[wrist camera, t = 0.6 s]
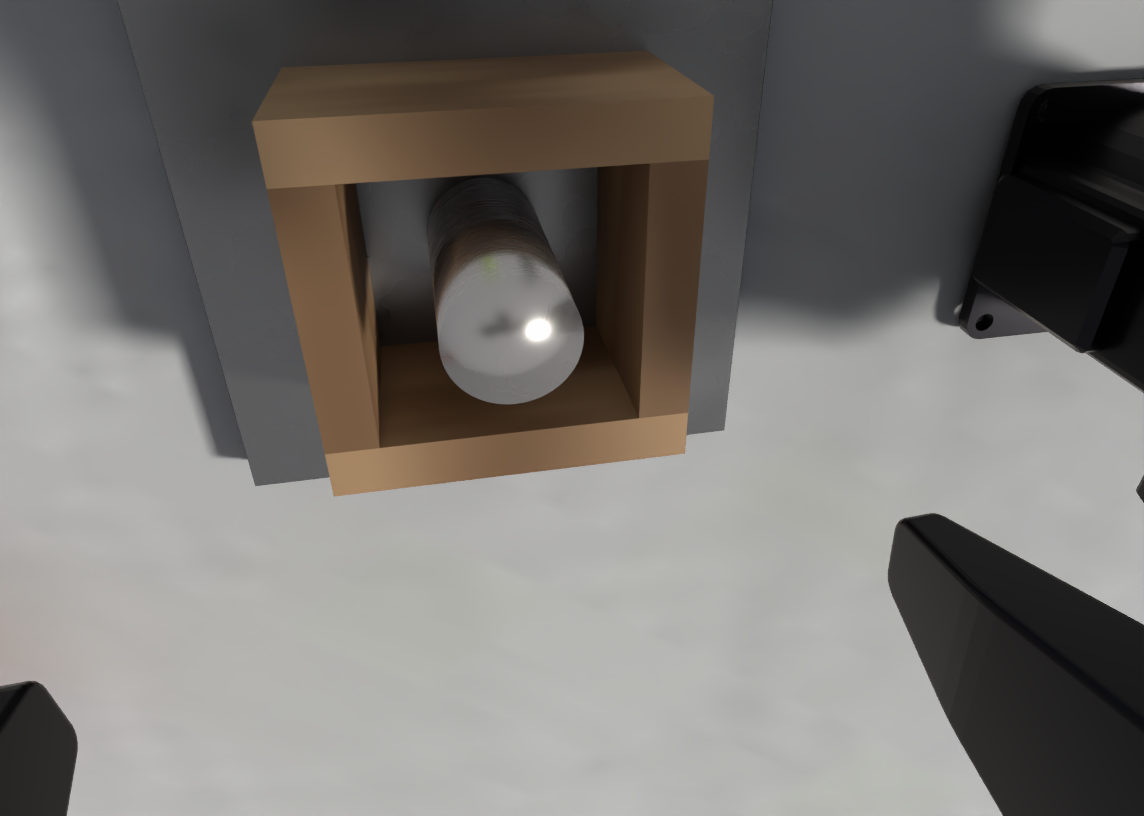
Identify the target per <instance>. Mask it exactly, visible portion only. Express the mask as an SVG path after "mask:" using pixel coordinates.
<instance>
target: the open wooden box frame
mask: <svg viewBox="0 0 1144 816" xmlns="http://www.w3.org/2000/svg"><path fill="white" fill-rule="evenodd" d="M713 104H714V95H712V94H711V93H709V92H708V91H706V90H705V89H703V88H702V87H700V86H699V85H697V84H696V83H695V82H693V81H692V80H690V79H689V78H687V77H686V76H684V75H683V74H681V73H680V72H678V71H677V70H675V69H674V68H673V67H671V66H670V65H668V64H667V63H665V62H664V61H662V60H661V59H659V58H658V57H656V56H655V55H653V54H652V53H650V52H649V51H631V52H609V53H587V54H565V55H543V56H521V57H499V58H477V59H455V60H434V61H412V62H390V63H368V64H346V65H324V66H302V67H282V68H281V69H280V71H279V73H278V75H277V77H276V78H275V80H274V82H273V84H272V86H271V88H270V89H269V91H268V93H267V95H266V97H265V98H264V100H263V102H262V104H261V106H260V107H259V109H258V111H257V113H256V115H255V116H254V118H253V120H252V124H253V129H254V133H255V138H256V142H257V147H258V152H259V156H260V161H261V165H262V170H263V174H264V179H265V184H266V188H267V193H268V197H269V202H270V206H271V211H272V216H273V220H274V225H275V229H276V234H277V238H278V243H279V248H280V252H281V257H282V261H283V266H284V270H285V275H286V279H287V284H288V289H289V293H290V298H291V302H292V307H293V311H294V316H295V321H296V325H297V330H298V334H299V339H300V343H301V348H302V353H303V357H304V362H305V366H306V371H307V375H308V380H309V385H310V389H311V394H312V398H313V403H314V407H315V412H316V417H317V421H318V426H319V430H320V435H321V439H322V444H323V449H324V453H325V458H326V462H327V467H328V471H329V476H330V481H331V485H332V490H333V494H334V496H341V495H349V494H357V493H366V492H374V491H382V490H390V489H398V488H406V487H415V486H423V485H431V484H439V483H447V482H455V481H464V480H472V479H480V478H488V477H496V476H504V475H513V474H521V473H529V472H537V471H545V470H553V469H562V468H570V467H578V466H586V465H594V464H602V463H611V462H619V461H627V460H635V459H643V458H651V457H660V456H668V455H676V454H684V453H685V445H686V433H687V421H688V409H689V396H690V384H691V372H692V360H693V348H694V336H695V323H696V311H697V299H698V287H699V275H700V263H701V250H702V238H703V226H704V214H705V202H706V190H707V177H708V165H709V153H710V141H711V129H712V116H713ZM589 167H598V184H597V318H596V326H587V327H583V329H584V343H583V348H582V353H581V355H580V358H579V361H578V363H577V365H576V367H575V368H574V370H573V371H572V373H571V374H570V375H569V376H568V378H567V379H566V380H565V381H564V382H563V383H562V384H561V385H559V386H558V387H557V388H556V389H554V390H553V391H551V392H550V393H548V394H546V395H544V396H542V397H540V398H537V399H535V400H532V401H528V402H524V403H518V404H496V403H490V402H486V401H483V400H480V399H478V398H475V397H473V396H471V395H470V394H468V393H466V392H465V391H463V390H462V389H461V388H460V387H458V386H457V385H456V384H455V383H454V382H453V381H452V379H451V378H450V376H449V375H448V374H447V372H446V370H445V368H444V366H443V363H442V360H441V357H440V351H439V343H438V341H432V342H421V343H411V344H401V345H390V346H381V341H380V335H379V329H378V322H377V316H376V309H375V303H374V297H373V290H372V284H371V278H370V271H369V265H368V259H367V252H366V246H365V240H364V233H363V227H362V220H361V214H360V208H359V201H358V195H357V189H356V183H365V182H380V181H395V180H410V179H425V178H440V177H455V176H470V175H485V174H500V173H515V172H530V171H544V170H559V169H574V168H589Z"/></svg>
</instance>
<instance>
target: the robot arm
mask: <svg viewBox="0 0 1144 816" xmlns="http://www.w3.org/2000/svg"><path fill="white" fill-rule="evenodd" d="M1046 100H1047V106H1046V108H1045V110H1044V112H1043V113H1041V114H1040V115H1039V116H1038V110H1039V108H1040V106H1041V105H1042V104H1043V103H1044V102H1045V101H1046ZM982 315H984V317H983V318H982V320H981V321H979V322H978V323H976V322H977V320H978V319H979V318H980V317H981V316H982ZM959 326H960V328H961V329H962V330H963V331H964V332H965V333H967V334H968V335H969V336H971V337H972V338H975V339H984V338H993V337H1002V336H1012V335H1021V334H1030V333H1040V332H1049V333H1051V334H1052V335H1053V336H1055V337H1056V338H1058V339H1059V340H1061V341H1062V342H1064V343H1065V344H1066V345H1068V346H1069V347H1071V348H1072V349H1074V350H1075V351H1076V352H1080V353H1086V354H1088V355H1089V356H1091V357H1092V358H1094V359H1095V360H1096V361H1098V362H1099V363H1101V364H1102V365H1104V366H1105V367H1107V368H1108V369H1110V370H1111V371H1112V372H1114V373H1115V374H1117V375H1118V376H1120V377H1121V378H1123V379H1124V380H1126V381H1127V382H1129V383H1130V384H1131V385H1133V386H1134V387H1136V388H1137V389H1139V390H1140V391H1142V392H1143V393H1144V78H1141V79H1123V80H1105V81H1087V82H1069V83H1052V84H1041V85H1038V86H1035V87H1033V88H1032V89H1030V90H1029V91H1028V92H1027V93H1026V94H1025V95H1024V97H1023V98H1022V99H1021V101H1020V103H1019V106H1018V108H1017V112H1016V115H1015V119H1014V122H1013V126H1012V130H1011V133H1010V137H1009V140H1008V144H1007V148H1006V151H1005V155H1004V158H1003V162H1002V165H1001V169H1000V173H999V176H998V180H997V183H996V187H995V190H994V194H993V198H992V201H991V205H990V208H989V212H988V215H987V219H986V223H985V226H984V230H983V233H982V237H981V241H980V244H979V248H978V251H977V255H976V258H975V262H974V266H973V269H972V273H971V276H970V280H969V283H968V287H967V291H966V294H965V298H964V301H963V305H962V309H961V312H960V316H959ZM1136 491H1137V493H1138V495H1139V496H1140V498H1141V499H1142V501H1143V502H1144V476H1143V478H1142V480H1141V482H1140V483H1139V485H1138V487H1137V489H1136ZM888 582H889V587H890V590H891V593H892V596H893V598H894V600H895V603H896V605H897V607H898V609H899V612H900V614H901V616H902V618H903V621H904V623H905V625H906V627H907V630H908V632H909V634H910V636H911V639H912V641H913V643H914V645H915V648H916V650H917V652H918V654H919V657H920V659H921V661H922V663H923V666H924V668H925V670H926V672H927V675H928V677H929V679H930V681H931V684H932V686H933V688H934V690H935V693H936V695H937V697H938V699H939V702H940V704H941V706H942V708H943V710H944V712H945V714H946V716H947V718H948V720H949V722H950V724H951V726H952V728H953V730H954V731H955V733H956V735H957V737H958V739H959V740H960V742H961V744H962V746H963V747H964V749H965V751H966V753H967V754H968V756H969V758H970V760H971V761H972V763H973V765H974V766H975V768H976V770H977V772H978V773H979V775H980V777H981V779H982V780H983V782H984V784H985V785H986V787H987V789H988V791H989V792H990V794H991V796H992V798H993V799H994V801H995V803H996V804H997V806H998V808H999V810H1000V811H1001V813H1002V815H1003V816H1144V625H1143V624H1141V623H1139V622H1138V621H1136V620H1134V619H1132V618H1130V617H1128V616H1127V615H1125V614H1123V613H1121V612H1119V611H1117V610H1115V609H1114V608H1112V607H1110V606H1108V605H1106V604H1104V603H1103V602H1101V601H1099V600H1097V599H1095V598H1093V597H1092V596H1090V595H1088V594H1086V593H1084V592H1082V591H1080V590H1079V589H1077V588H1075V587H1073V586H1071V585H1069V584H1068V583H1066V582H1064V581H1062V580H1060V579H1058V578H1057V577H1055V576H1053V575H1051V574H1049V573H1047V572H1045V571H1044V570H1042V569H1040V568H1038V567H1036V566H1034V565H1033V564H1031V563H1029V562H1027V561H1025V560H1023V559H1022V558H1020V557H1018V556H1016V555H1014V554H1012V553H1011V552H1009V551H1007V550H1005V549H1003V548H1001V547H999V546H998V545H996V544H994V543H992V542H990V541H988V540H987V539H985V538H983V537H981V536H979V535H977V534H976V533H974V532H972V531H970V530H968V529H966V528H964V527H963V526H961V525H959V524H957V523H955V522H953V521H952V520H950V519H948V518H946V517H944V516H942V515H939V514H935V513H930V514H924V515H919V516H913V517H908V518H904V519H902V520H900V521H899V522H898V524H897V525H896V528H895V532H894V538H893V544H892V550H891V556H890V562H889V568H888ZM77 750H78V742H77V736H76V733H75V730H74V728H73V726H72V724H71V723H70V721H69V720H68V719H67V717H66V716H65V714H64V713H63V712H62V710H61V709H60V707H59V706H58V705H57V703H56V702H55V700H54V699H53V698H52V696H51V695H50V694H49V692H48V691H47V689H46V688H45V687H44V686H43V685H42V684H40V683H38V682H36V681H26V682H21V683H15V684H10V685H4V686H0V816H67V810H68V805H69V799H70V793H71V787H72V781H73V775H74V769H75V763H76V758H77Z"/></svg>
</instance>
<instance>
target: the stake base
mask: <svg viewBox="0 0 1144 816" xmlns="http://www.w3.org/2000/svg"><path fill="white" fill-rule="evenodd" d="M117 1H118V5H119V8H120V12H121V15H122V19H123V22H124V26H125V29H126V33H127V36H128V40H129V43H130V47H131V50H132V54H133V57H134V61H135V64H136V68H137V71H138V75H139V78H140V82H141V85H142V89H143V93H144V96H145V100H146V103H147V107H148V110H149V114H150V117H151V121H152V124H153V128H154V131H155V135H156V138H157V142H158V145H159V149H160V152H161V156H162V159H163V163H164V166H165V170H166V173H167V177H168V180H169V184H170V187H171V191H172V194H173V198H174V202H175V205H176V209H177V212H178V216H179V219H180V223H181V226H182V230H183V233H184V237H185V240H186V244H187V247H188V251H189V254H190V258H191V261H192V265H193V268H194V272H195V275H196V279H197V282H198V286H199V289H200V293H201V296H202V300H203V303H204V307H205V311H206V314H207V318H208V321H209V325H210V328H211V332H212V335H213V339H214V342H215V346H216V349H217V353H218V356H219V360H220V363H221V367H222V370H223V374H224V377H225V381H226V384H227V388H228V391H229V395H230V398H231V402H232V405H233V409H234V412H235V416H236V420H237V423H238V427H239V430H240V434H241V437H242V441H243V444H244V448H245V451H246V455H247V458H248V462H249V465H250V469H251V472H252V476H253V479H254V483H255V486H260V485H268V484H277V483H285V482H293V481H302V480H310V479H319V478H327V477H330V476H329V471H328V467H327V462H326V458H325V453H324V449H323V444H322V439H321V435H320V430H319V426H318V421H317V417H316V412H315V407H314V403H313V398H312V394H311V389H310V385H309V380H308V375H307V371H306V366H305V362H304V357H303V353H302V348H301V343H300V339H299V334H298V330H297V325H296V321H295V316H294V311H293V307H292V302H291V298H290V293H289V289H288V284H287V279H286V275H285V270H284V266H283V261H282V257H281V252H280V248H279V243H278V238H277V234H276V229H275V225H274V220H273V216H272V211H271V206H270V202H269V197H268V193H267V188H266V184H265V179H264V174H263V170H262V165H261V161H260V156H259V152H258V147H257V142H256V138H255V133H254V129H253V124H252V120H253V118H254V116H255V115H256V113H257V111H258V109H259V107H260V106H261V104H262V102H263V100H264V98H265V97H266V95H267V93H268V91H269V89H270V88H271V86H272V84H273V82H274V80H275V78H276V77H277V75H278V73H279V71H280V69H281V68H282V67H302V66H324V65H346V64H368V63H390V62H412V61H434V60H455V59H477V58H499V57H521V56H543V55H565V54H587V53H609V52H631V51H649V52H650V53H652V54H653V55H655V56H656V57H658V58H659V59H661V60H662V61H664V62H665V63H667V64H668V65H670V66H671V67H673V68H674V69H675V70H677V71H678V72H680V73H681V74H683V75H684V76H686V77H687V78H689V79H690V80H692V81H693V82H695V83H696V84H697V85H699V86H700V87H702V88H703V89H705V90H706V91H708V92H709V93H711V94H712V95H714V104H713V116H712V129H711V141H710V153H709V165H708V177H707V190H706V202H705V214H704V226H703V238H702V250H701V263H700V275H699V287H698V299H697V311H696V323H695V336H694V348H693V360H692V372H691V384H690V396H689V409H688V421H687V433H686V435H688V434H697V433H705V432H714V431H722V430H724V426H725V418H726V409H727V400H728V391H729V382H730V373H731V364H732V355H733V347H734V338H735V329H736V320H737V311H738V302H739V293H740V284H741V276H742V267H743V258H744V249H745V240H746V231H747V222H748V213H749V205H750V196H751V187H752V178H753V169H754V160H755V151H756V143H757V134H758V125H759V116H760V107H761V98H762V89H763V80H764V72H765V63H766V54H767V45H768V36H769V27H770V18H771V9H772V1H773V0H117ZM597 184H598V167H589V168H574V169H559V170H544V171H530V172H515V173H500V174H485V175H470V176H455V177H440V178H425V179H410V180H395V181H380V182H365V183H356V189H357V195H358V201H359V208H360V214H361V220H362V227H363V233H364V240H365V246H366V252H367V259H368V265H369V271H370V278H371V284H372V290H373V297H374V303H375V309H376V316H377V322H378V329H379V335H380V341H381V346H390V345H401V344H411V343H421V342H432V341H438V343H439V351H440V357H441V360H442V363H443V366H444V368H445V370H446V372H447V374H448V375H449V376H450V378H451V379H452V381H453V382H454V383H455V384H456V385H457V386H458V387H460V388H461V389H462V390H463V391H465V392H466V393H468V394H470V395H471V396H473V397H475V398H478V399H480V400H483V401H486V402H490V403H496V404H518V403H524V402H528V401H532V400H535V399H537V398H540V397H542V396H544V395H546V394H548V393H550V392H551V391H553V390H554V389H556V388H557V387H558V386H559V385H561V384H562V383H563V382H564V381H565V380H566V379H567V378H568V376H569V375H570V374H571V373H572V371H573V370H574V368H575V367H576V365H577V363H578V361H579V358H580V355H581V353H582V348H583V343H584V329H583V327H587V326H596V318H597Z"/></svg>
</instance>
